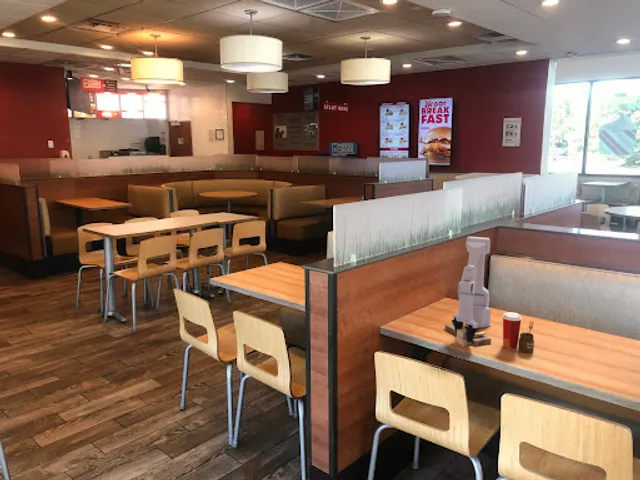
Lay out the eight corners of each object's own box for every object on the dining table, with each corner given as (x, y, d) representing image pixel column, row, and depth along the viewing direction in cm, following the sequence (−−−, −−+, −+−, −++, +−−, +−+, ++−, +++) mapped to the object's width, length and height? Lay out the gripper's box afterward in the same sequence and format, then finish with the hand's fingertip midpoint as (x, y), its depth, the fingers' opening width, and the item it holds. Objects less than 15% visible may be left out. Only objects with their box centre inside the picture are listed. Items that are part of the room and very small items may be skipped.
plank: (459, 326, 240) (459, 322, 239) (490, 343, 219) (491, 338, 219) (445, 328, 237) (445, 324, 236) (475, 345, 216) (475, 341, 216)
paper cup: (520, 344, 217) (522, 313, 215) (519, 351, 211) (521, 318, 208) (501, 341, 221) (503, 310, 218) (499, 348, 214) (501, 316, 211)
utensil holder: (515, 350, 212) (517, 322, 210) (523, 346, 215) (525, 319, 213) (528, 354, 207) (530, 326, 205) (536, 350, 211) (538, 323, 209)
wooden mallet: (480, 338, 225) (481, 325, 224) (486, 341, 221) (487, 328, 220) (456, 342, 220) (456, 329, 219) (462, 346, 216) (462, 332, 215)
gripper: (447, 304, 221) (446, 334, 224) (468, 314, 208) (467, 346, 211) (461, 302, 224) (459, 332, 226) (482, 312, 211) (480, 343, 213)
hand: (464, 338), depth 219 cm, fingers open, 7 cm apart
